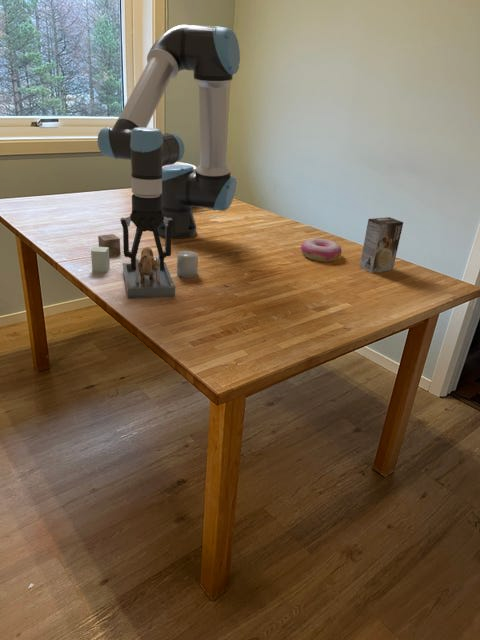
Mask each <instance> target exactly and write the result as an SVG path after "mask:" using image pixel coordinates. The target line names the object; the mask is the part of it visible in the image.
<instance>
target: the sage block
mask: <svg viewBox="0 0 480 640" xmlns="http://www.w3.org/2000/svg"><path fill="white" fill-rule="evenodd" d="M90 255H91V270H92V272H101V273H103V272H104V273H107V272H108V271H109V269H110V266H111V265H110V255H109V247H99V246H95V245H94V246H93V248H92V249H91V251H90Z"/></svg>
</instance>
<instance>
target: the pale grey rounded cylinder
mask: <svg viewBox="0 0 480 640" xmlns="http://www.w3.org/2000/svg"><path fill="white" fill-rule="evenodd" d="M198 270H199V253H197V252H195V251H191V250H182V251H178V252H177V255H176V276H178V277H180V278H184V279H192V278H196V277H198V275H199V274H198Z"/></svg>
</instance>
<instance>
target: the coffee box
mask: <svg viewBox="0 0 480 640" xmlns="http://www.w3.org/2000/svg"><path fill="white" fill-rule="evenodd" d="M403 226H404V221H401V220H398V219H396V218H393V217H388V216H387V217H376V218H368V220H367V225H366V231H365V236H364V242H363V247H362V251H361V257H360V261H359V267H360V268H361V269H363V270H366V271H367V272H368V273H371V274H373V273H374V274H375V273H381V272H388V271H389V272H390V271H393V270H394V266H395V261H396V256H397V253H398V248H399V243H400V239H401V234H402V231H403Z"/></svg>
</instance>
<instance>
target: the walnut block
mask: <svg viewBox="0 0 480 640" xmlns="http://www.w3.org/2000/svg"><path fill="white" fill-rule="evenodd" d="M97 238H98V247H109V256H114V255H120V254H121V253H122V252H121V238H120V237H118V236H117V235H116V234H114V233H111V234H103V235H97Z"/></svg>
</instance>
